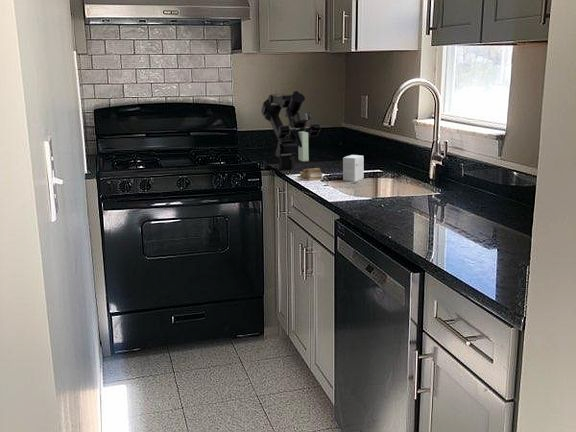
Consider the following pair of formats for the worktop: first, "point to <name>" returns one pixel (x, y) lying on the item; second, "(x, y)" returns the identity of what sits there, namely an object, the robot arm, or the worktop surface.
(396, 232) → the worktop surface
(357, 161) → the small box
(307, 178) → the pine rack
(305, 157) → the sage panel
